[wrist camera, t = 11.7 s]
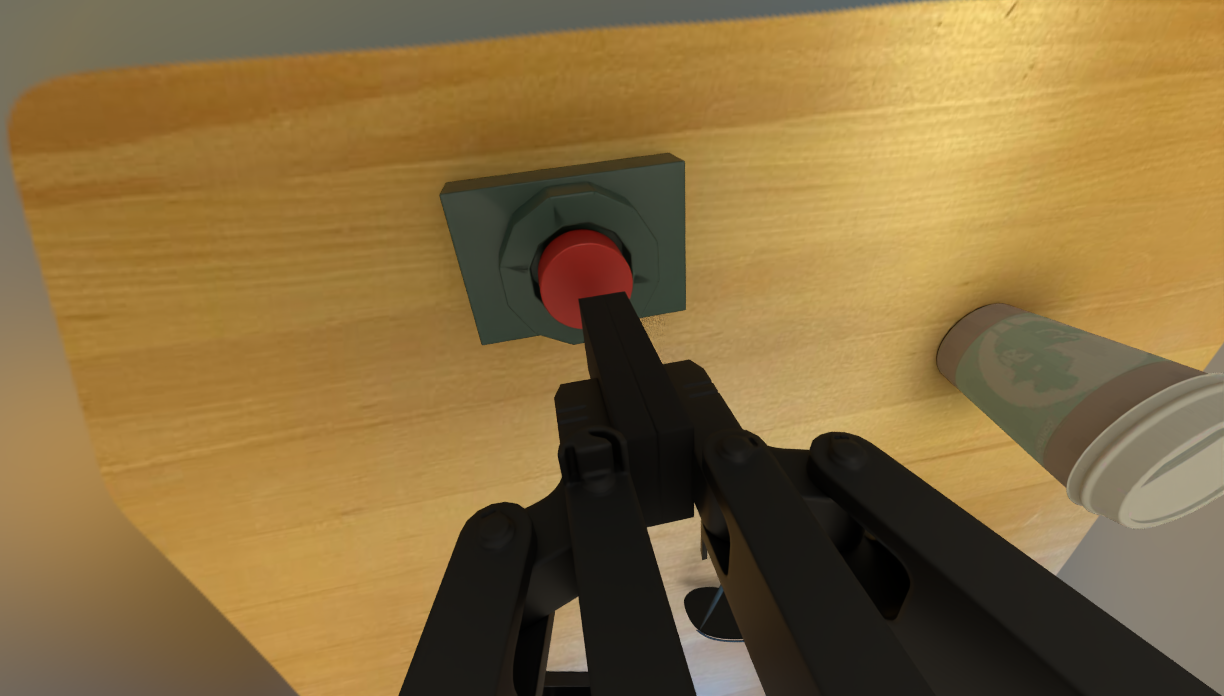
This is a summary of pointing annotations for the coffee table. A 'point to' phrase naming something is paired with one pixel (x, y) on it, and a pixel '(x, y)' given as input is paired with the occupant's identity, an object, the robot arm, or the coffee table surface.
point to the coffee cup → (1095, 412)
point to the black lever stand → (566, 684)
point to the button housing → (555, 204)
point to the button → (580, 273)
